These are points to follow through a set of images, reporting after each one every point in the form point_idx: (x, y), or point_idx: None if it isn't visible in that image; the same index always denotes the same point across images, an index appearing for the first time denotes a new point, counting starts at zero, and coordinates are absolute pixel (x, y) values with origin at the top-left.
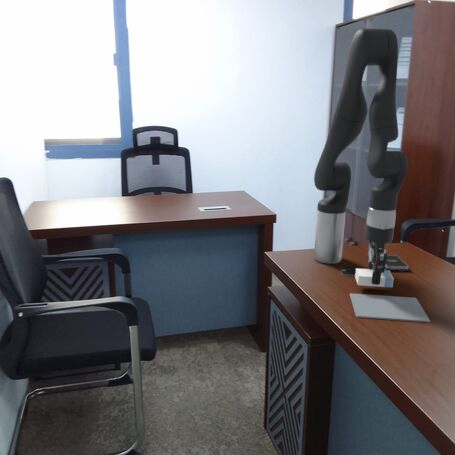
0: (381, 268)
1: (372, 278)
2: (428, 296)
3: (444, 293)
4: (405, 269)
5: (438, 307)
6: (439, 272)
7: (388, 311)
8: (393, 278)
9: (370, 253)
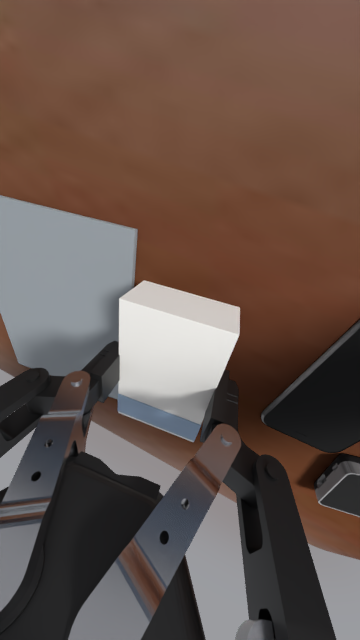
0: (29, 411)
1: (111, 349)
2: (145, 426)
3: (162, 454)
4: (317, 487)
5: (94, 410)
6: None
7: (28, 304)
8: (119, 411)
9: (160, 503)
